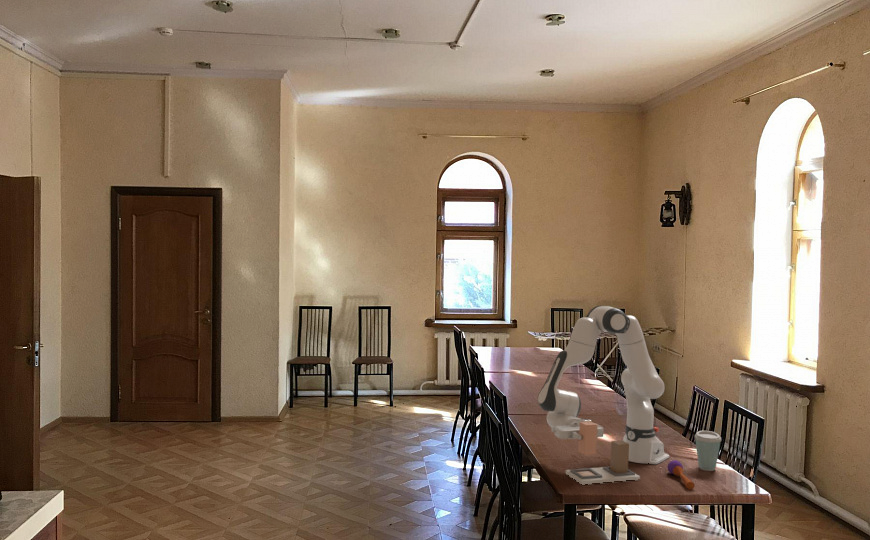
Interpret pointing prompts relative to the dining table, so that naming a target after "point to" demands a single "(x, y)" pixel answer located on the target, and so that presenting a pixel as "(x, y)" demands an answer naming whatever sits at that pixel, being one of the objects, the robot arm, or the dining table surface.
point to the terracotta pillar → (588, 438)
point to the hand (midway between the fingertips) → (589, 437)
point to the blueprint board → (607, 468)
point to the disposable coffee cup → (707, 449)
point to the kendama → (679, 473)
